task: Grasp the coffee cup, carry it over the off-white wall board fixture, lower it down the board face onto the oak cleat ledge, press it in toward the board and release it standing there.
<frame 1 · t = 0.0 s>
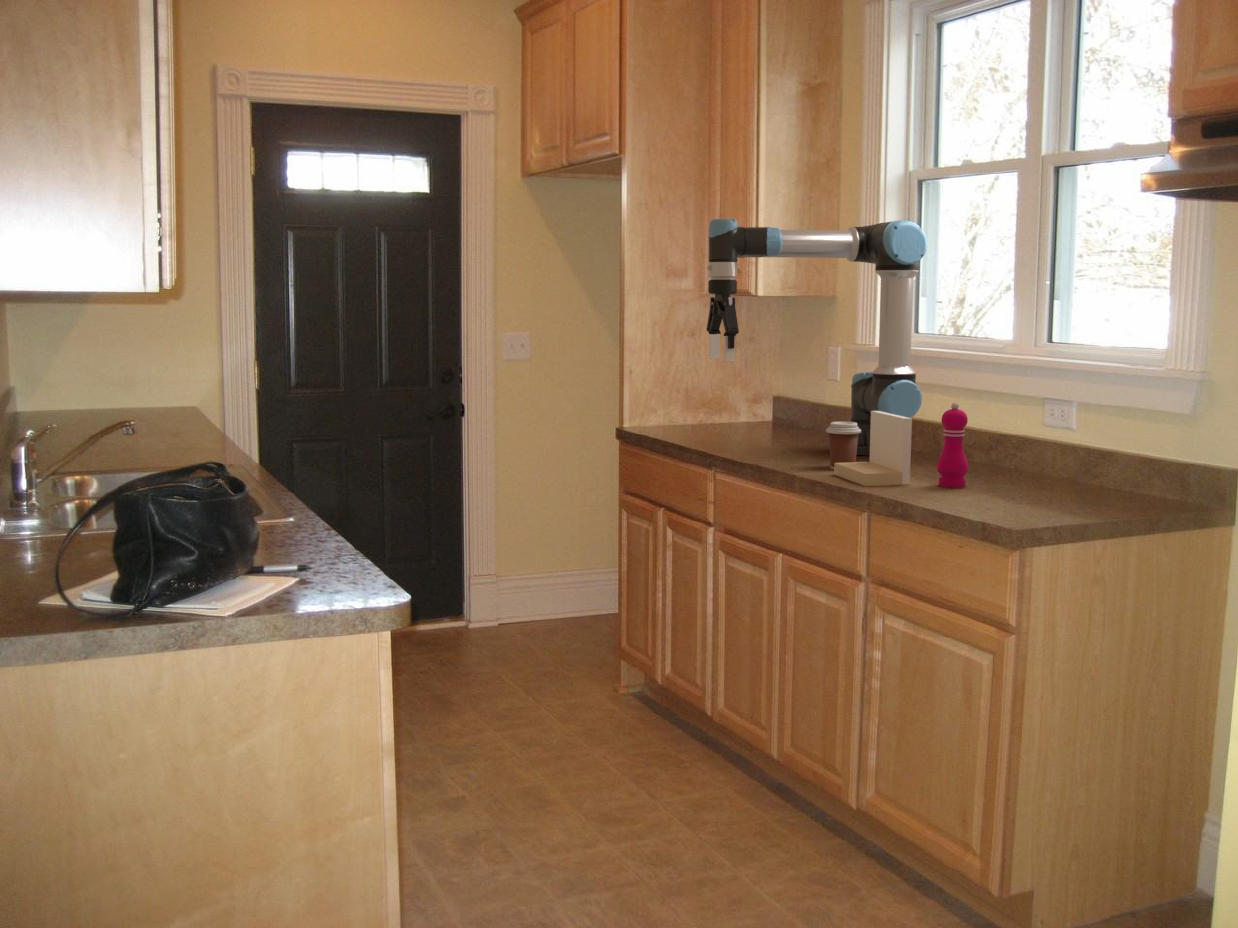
hand: (721, 360, 326), 28 cm above the countertop, fingers open, 13 cm apart
pepper mill: (952, 486, 294), on the countertop
coffee cup: (842, 469, 323), on the countertop
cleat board: (892, 478, 305), on the countertop
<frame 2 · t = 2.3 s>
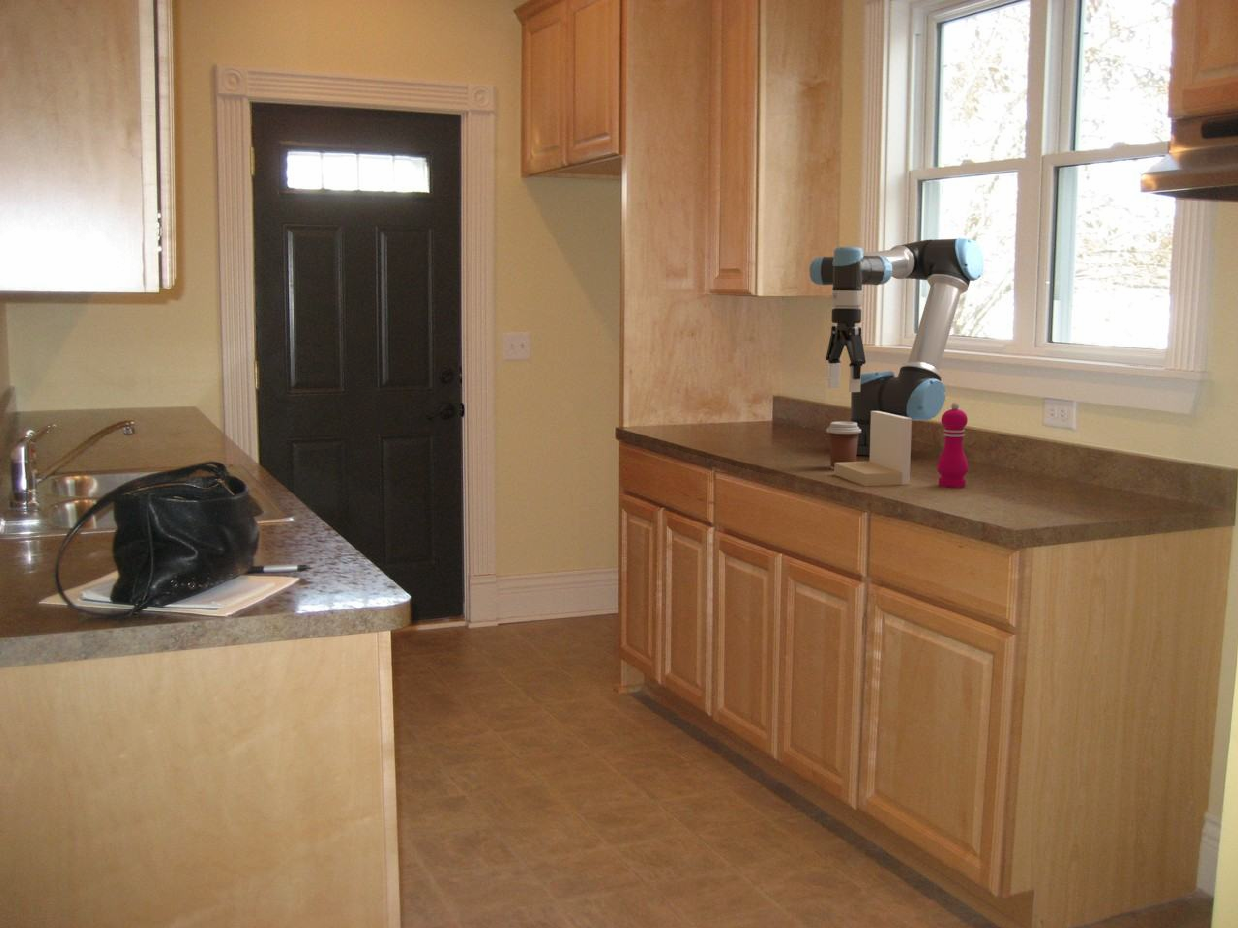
hand: (844, 390, 320), 21 cm above the countertop, fingers open, 13 cm apart
nothing on the countertop moved.
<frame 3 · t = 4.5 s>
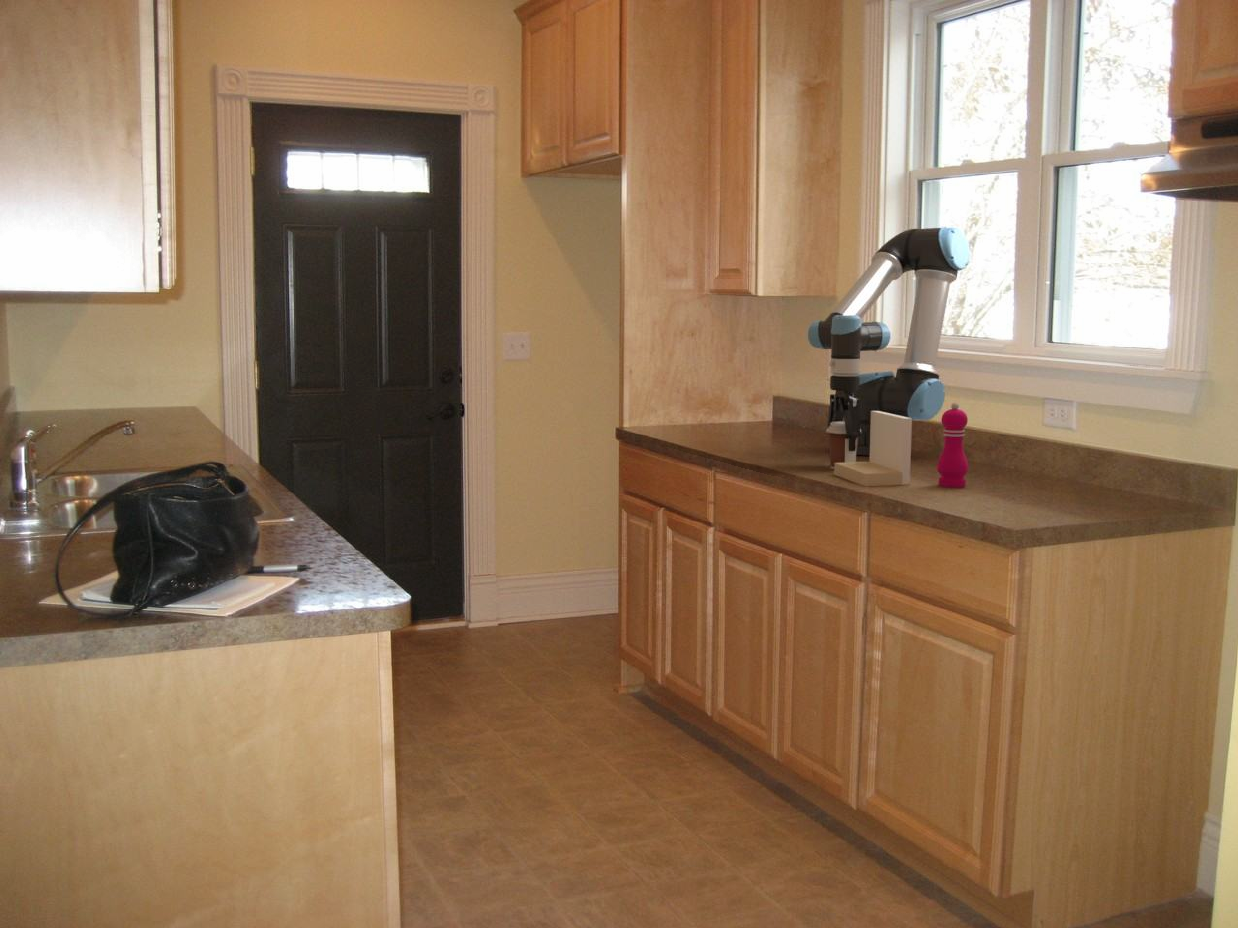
hand: (842, 460, 323), 2 cm above the countertop, fingers closed on coffee cup, 9 cm apart
coffee cup: (842, 469, 323), on the countertop, touching gripper
everything else where it was.
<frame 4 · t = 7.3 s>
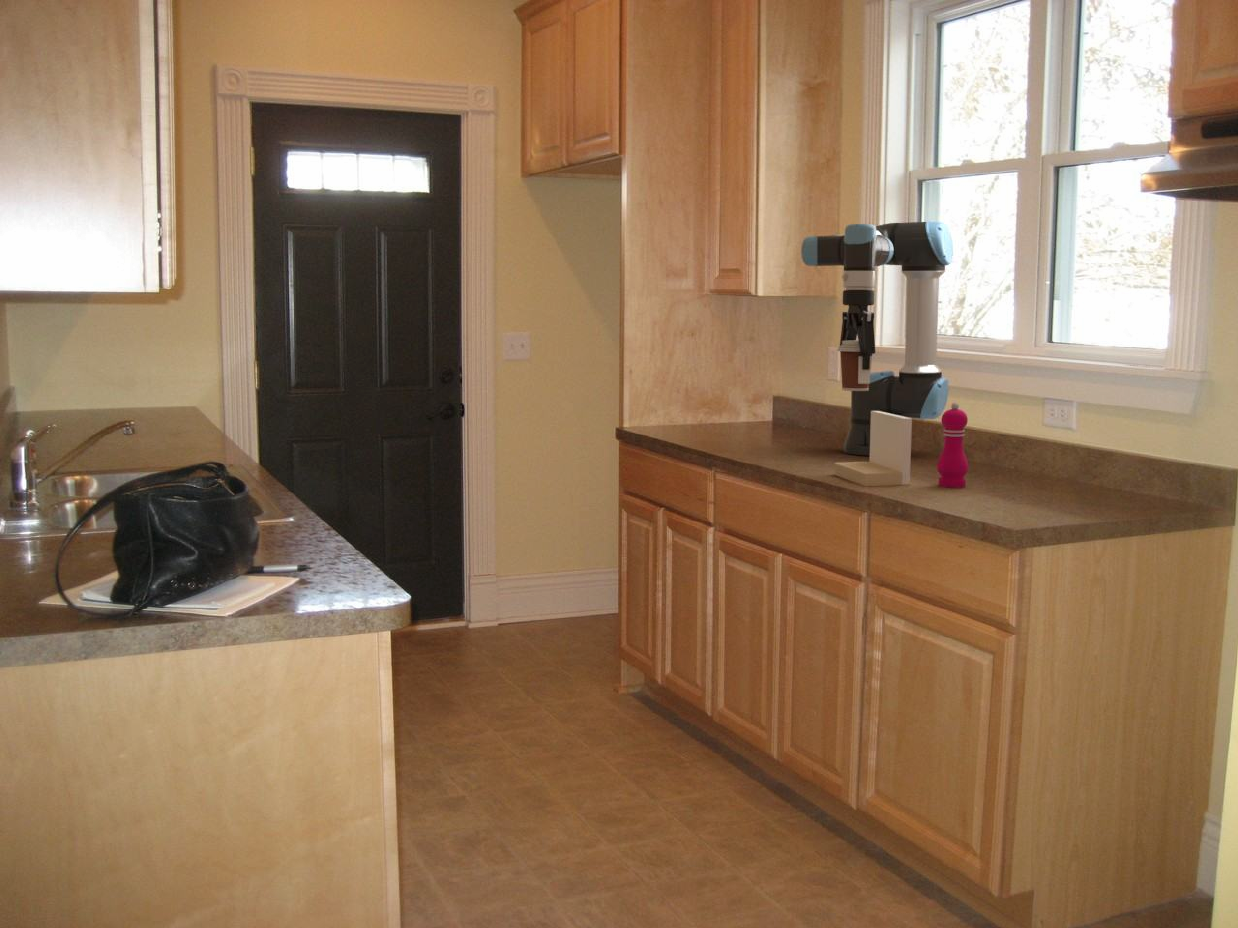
hand: (855, 382, 301), 24 cm above the countertop, fingers closed on coffee cup, 9 cm apart
coffee cup: (855, 390, 301), point 22 cm above the countertop, touching gripper
everything else where it was.
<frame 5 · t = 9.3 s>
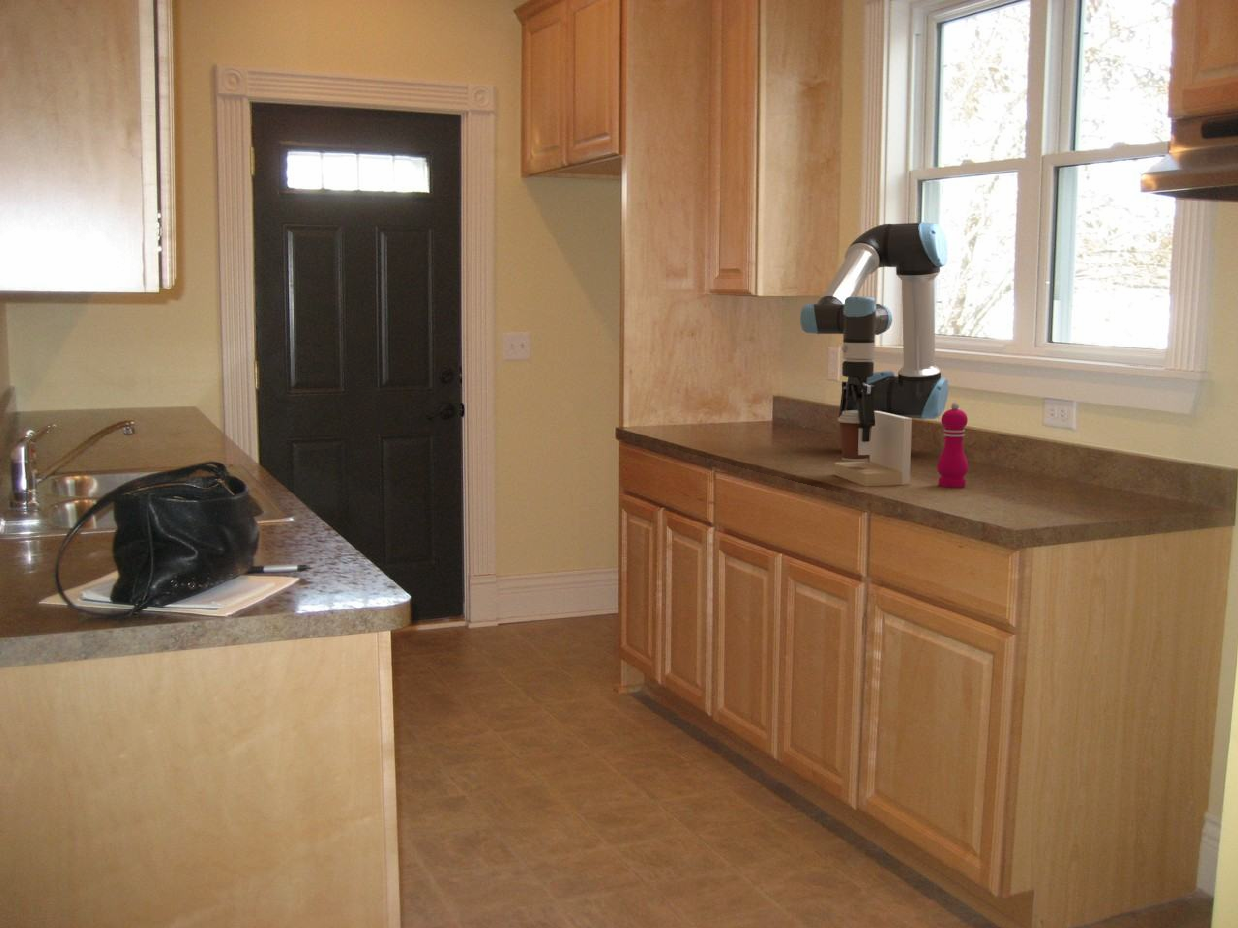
hand: (855, 452, 302), 7 cm above the countertop, fingers closed on coffee cup, 9 cm apart
coffee cup: (855, 460, 303), point 5 cm above the countertop, touching gripper
everything else where it was.
when the fingers open (6 cm above the countertop, at t = 10.6 s): coffee cup stays where it is, resting on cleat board.
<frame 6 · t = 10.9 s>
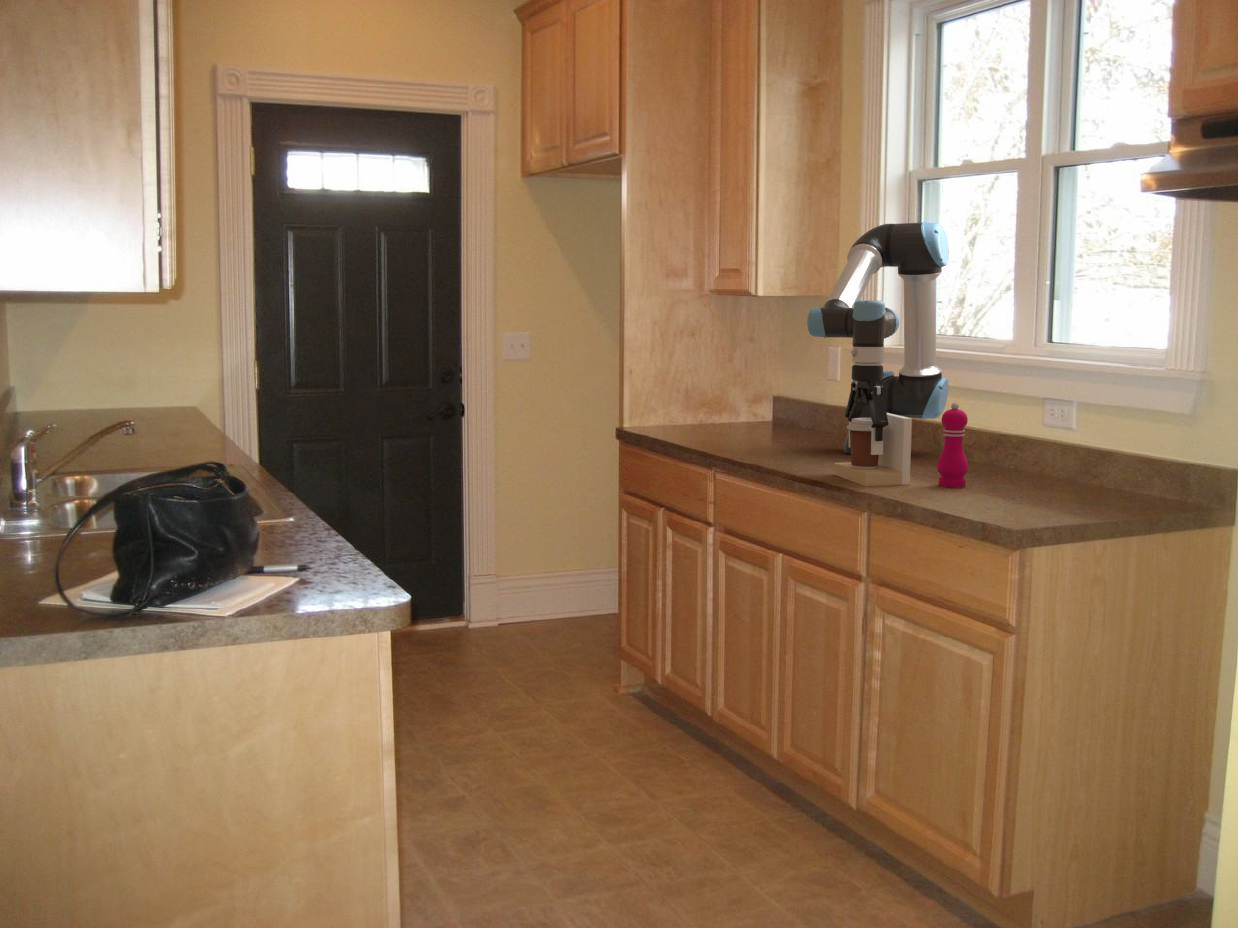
hand: (865, 451, 303), 7 cm above the countertop, fingers open, 13 cm apart
coffee cup: (864, 468, 303), point 3 cm above the countertop, touching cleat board
everything else where it was.
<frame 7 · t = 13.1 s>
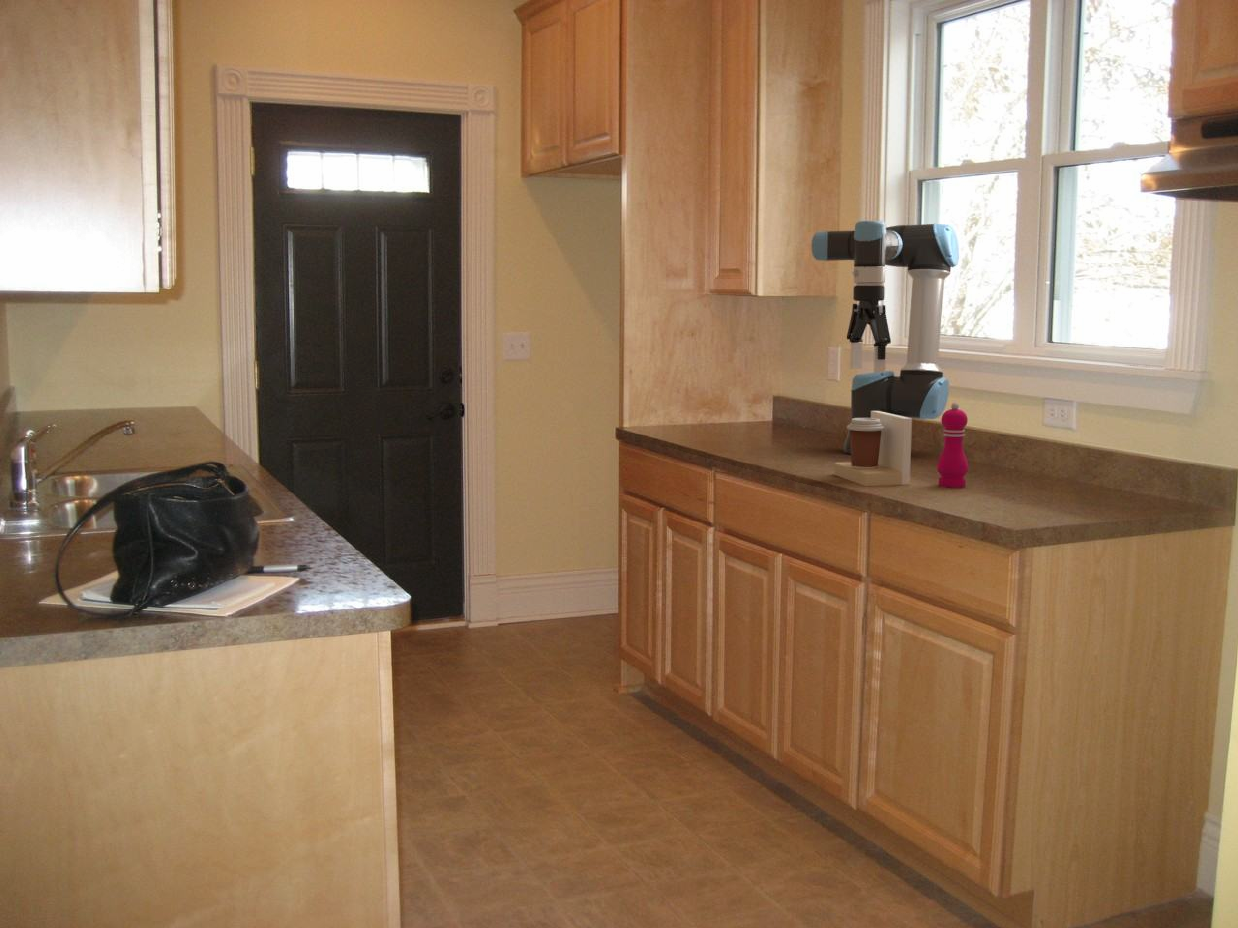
hand: (867, 370, 307), 26 cm above the countertop, fingers open, 13 cm apart
nothing on the countertop moved.
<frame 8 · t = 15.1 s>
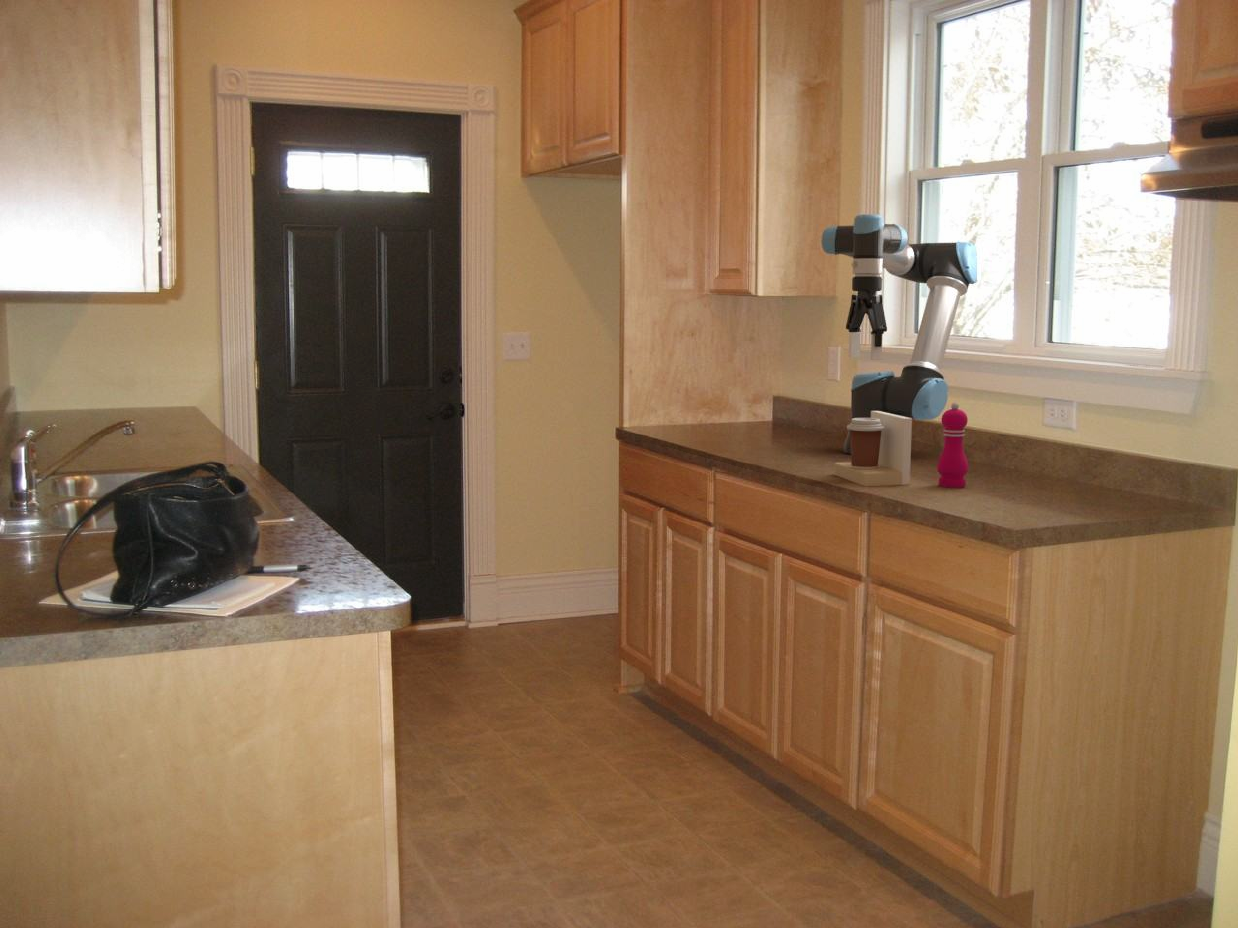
hand: (864, 358, 319), 29 cm above the countertop, fingers open, 13 cm apart
nothing on the countertop moved.
at the end: coffee cup inside the target area (0.2 cm from its centre), point 2.8 cm above the countertop; coffee cup tilted 0°; coffee cup touching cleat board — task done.
